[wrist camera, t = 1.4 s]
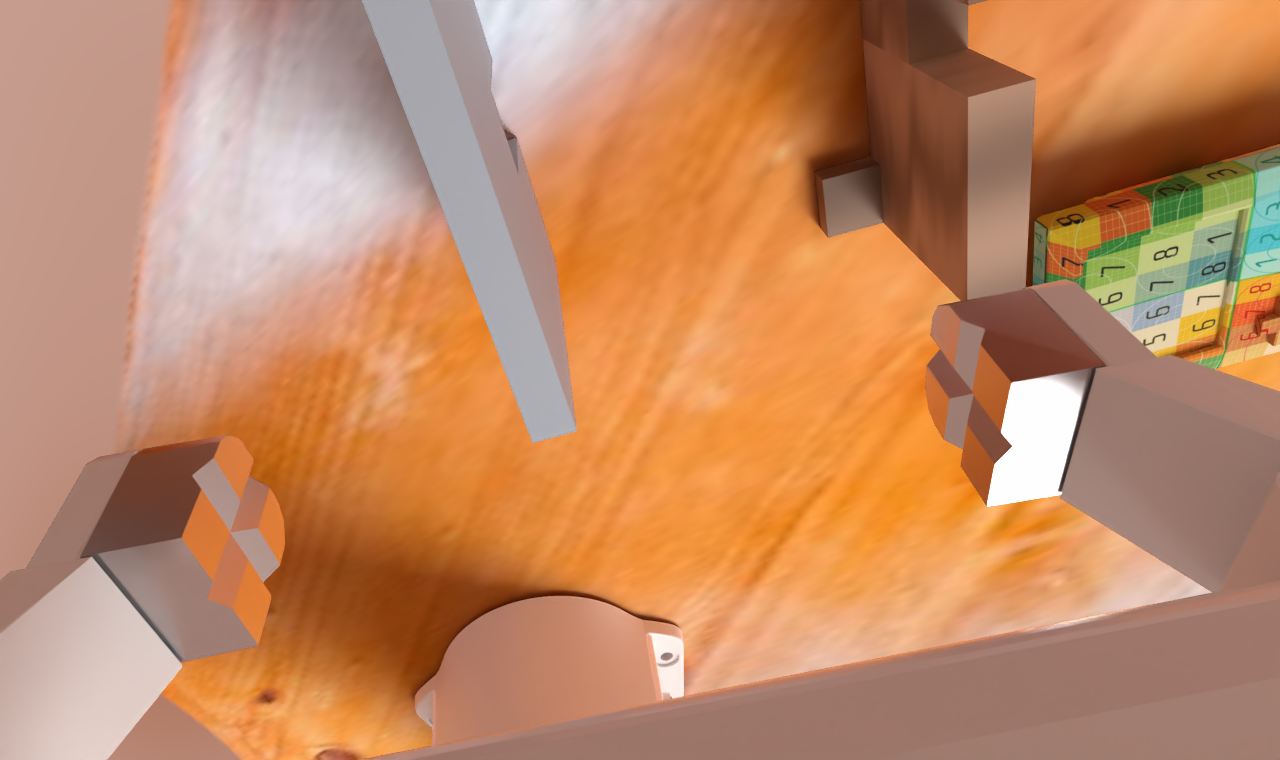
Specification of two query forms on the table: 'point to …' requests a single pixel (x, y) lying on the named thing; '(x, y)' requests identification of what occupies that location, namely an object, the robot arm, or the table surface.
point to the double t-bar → (939, 149)
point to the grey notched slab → (482, 195)
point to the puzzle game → (1180, 258)
